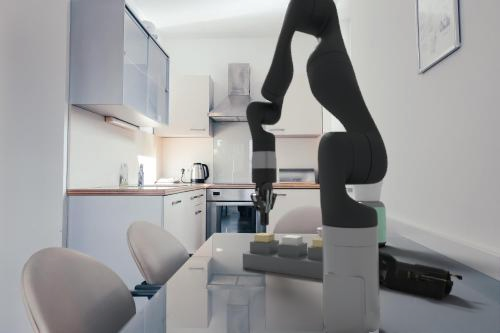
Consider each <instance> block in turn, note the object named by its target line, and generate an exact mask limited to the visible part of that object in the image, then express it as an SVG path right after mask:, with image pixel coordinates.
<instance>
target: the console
mask: <svg viewBox="0 0 500 333" xmlns="http://www.w3.org/2000/svg"><path fill="white" fill-rule="evenodd" d="M242 268H243V269H249V270H255V271H263V272H271V273H279V274H284V275H291V276H292V275H293V276H298V277H299V276H300V277H306V278H313V279H314V278H315V279H320V280H323V252H322V248H314V247H313V244H312V245H310V246H308V242H304V241H303V244H301V245H299V246H293V245H282V242H280V240H279V239H274V241H273V242H270V243H261V242H255V239H254V240H252V241H250V242H249V251H247V252H243V253H242Z"/></svg>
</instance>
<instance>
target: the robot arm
mask: <svg viewBox="0 0 500 333" xmlns="http://www.w3.org/2000/svg"><path fill="white" fill-rule="evenodd" d="M340 24H341V23H340V18H339V12H338V9H337V5H336V3H335V1H334V0H288V3H287V5H286V8H285V12H284V15H283V19H282V22H281V25H280V29H279V33H278V37H277V40H276V44H275V45H276V46H275V49H274V52H273V56H272V59H271V60H272V61H271V64H270V66H269V69H268V71H267V74H266V76H265V79H264V81H263V83H262V86H261V87H260V88H261V90H260V94H261V96H262V97H263V99H265V100H266V101H265V100H264V101H262V100H251V101H250V102H249V103H248V104H247V106H246V109H245V116H246V120H247V123H248V124H247V125H248V126H249V127H248V129H249V132H250V136H251V144H252V145H251V146H252V148H251V151H252V152H251V153H252V154H251V182H252V184H254V185H255V188H254V194H251V195H250V200H251V202H252V204H253V206H254V209H255V211H256V212H258V213H259V218H260V219H259V224H260V226H265V227H266V226H269V225H270V212H271V210H273V209H274V207H275V206H274V205H275V203H276V199H277V196H278V194H277V193H276V192H274V186H273V184H276V183H277V181H278V180H277V177H278V176H277V170H278V169H277V167H278V166H277V155H276V154H277V153H276V135H275V134H274V133H272V132H269V131H266V130H265V129H264V127H263V126H275V125H276V124H278V123H279V122H280V120H281V117H282V111H283V104H284V100H285V96H286V94H287V92H288V89H289V88H290V86H291V84H292V81H293V78H294V72H295V71H294V61H293V56H292V42H293V37H294V34H295V33H296V32H299V33H302V34H306V35H310V36H313V37H314V38H316V40H317V45H316V46H315V47H314V48H313V49H312V51H311V53H310V54H309V55H308V58H307V61H306V66H305V68H306V69H305V70H306V76H307V79H308V84H309V88H310V92H311V93H312V96H313V98H314V99H315V100H316V101H317V102H318V104H319V105H321V106H322V107H323V108H324V109H325V110H326V111H328V112H329V113H330V114H331V115H332V116H333V117H334V118H335V119H336V120H338V121H339V123H340V124H341V125H342V127H343V128H344V130H345V131H329V132H326V133H324V134H323V135H322V136H321V138H320V140H319V141H318V148H317V168H318V170H317V172H318V182H319V202H320V210H321V227H322V252H323V279H322V300H323V301H322V302H323V307H322V308H323V326H324V327H325V333H369V332H374V331H376V330H378V329H379V328H380V329H381V303H380V302H381V301H380V300H381V298H380V297H381V295H380V283H379V255H378V251H379V246H378V215H377V211H376V209H374V208H373V207H370V206H367V205H364V204H362V203H359V202H357V201H356V200H355V198H352V197H351V196H350V195H349V194H348V192H347V187H346V186H353V185H365V184H375V183H378V182H380V181H382V180H383V181H384V178H385V177H386V176H387V172H388V165H389V162H388V158H389V157H388V153H387V149H386V148H387V147H386V145H385V142H384V139H383V137H382V134H381V132H380V130H379V128H378V127H377V125H376V123H375V120H374V118H373V116H372V115H371V112H370V111H369V108H368V106H367V103H366V102H365V99H364V96H363V94H362V91H361V88H360V85H359V84H358V83H359V82H358V80H357V76H356V72H355V68H354V66H353V64H352V60H351V58H350V56H349V53H348V51H347V47H346V44H345V40H344V38H343V34H342V30H341V25H340Z"/></svg>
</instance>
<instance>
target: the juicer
mask: <svg viewBox="0 0 500 333" xmlns="http://www.w3.org/2000/svg"><path fill="white" fill-rule="evenodd" d="M383 184H384V179H383V180H382V181H380V182H378V183H375V184H365V185H352V190H353V195H354V200H355V201H357V202H359V203H362V204H364V205H367V206H370V207H373V208H374V209H376V211H377V215H378V247H380V246H381V245H385V244H387V241H388V240H387V238H388V236H387V213H386V212H387V209H386V206H385V204H384V202H382V201H380V200H381V193H382V187H383Z"/></svg>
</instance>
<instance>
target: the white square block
mask: <svg viewBox="0 0 500 333" xmlns="http://www.w3.org/2000/svg"><path fill="white" fill-rule="evenodd" d="M303 242H304V241H303V235H295V234H287V235H284V236H282V237H281V243H282V245H293V246H299V245H301V244H303Z"/></svg>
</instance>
